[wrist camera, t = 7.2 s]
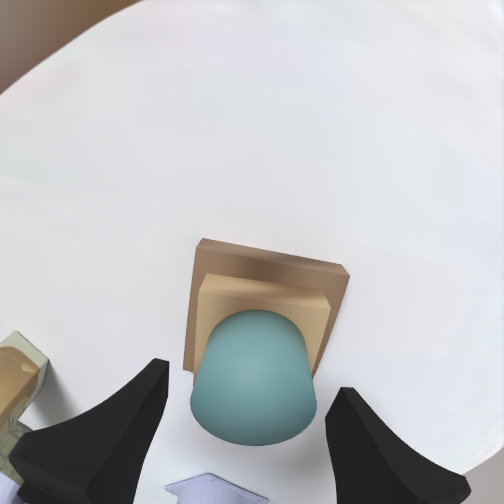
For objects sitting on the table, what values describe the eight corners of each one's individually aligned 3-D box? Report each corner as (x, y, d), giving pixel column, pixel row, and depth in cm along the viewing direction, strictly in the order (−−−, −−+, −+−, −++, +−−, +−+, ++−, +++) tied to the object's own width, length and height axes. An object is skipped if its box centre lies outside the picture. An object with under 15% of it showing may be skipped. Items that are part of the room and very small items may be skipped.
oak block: (322, 289, 15) (330, 308, 13) (298, 376, 17) (301, 400, 15) (206, 273, 15) (198, 291, 13) (199, 364, 17) (193, 388, 15)
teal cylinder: (324, 356, 14) (339, 413, 10) (250, 400, 15) (246, 457, 11) (262, 289, 13) (261, 340, 9) (187, 344, 14) (165, 399, 10)
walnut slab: (338, 260, 17) (350, 276, 15) (304, 366, 20) (308, 389, 17) (204, 235, 17) (196, 247, 15) (190, 348, 19) (182, 369, 17)
